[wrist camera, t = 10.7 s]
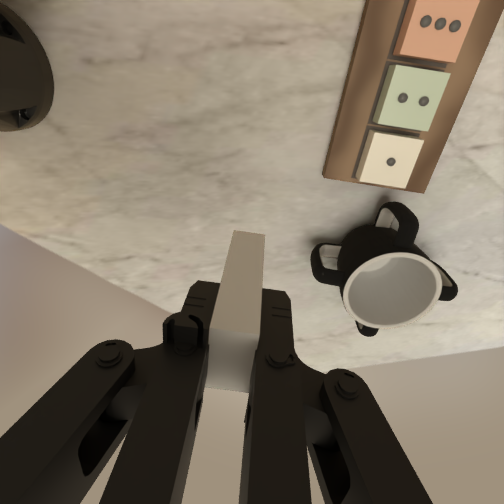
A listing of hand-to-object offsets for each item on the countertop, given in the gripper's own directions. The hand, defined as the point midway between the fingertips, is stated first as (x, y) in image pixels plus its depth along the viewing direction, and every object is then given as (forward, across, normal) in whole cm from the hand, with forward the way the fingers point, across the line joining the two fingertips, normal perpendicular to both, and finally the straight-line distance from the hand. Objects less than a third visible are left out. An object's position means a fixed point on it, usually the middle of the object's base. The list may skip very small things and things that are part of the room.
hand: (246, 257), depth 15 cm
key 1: (+29, +16, 0) cm, 33 cm away
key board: (+32, +16, +7) cm, 36 cm away
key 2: (+29, +16, +7) cm, 34 cm away
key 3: (+30, +16, +14) cm, 37 cm away
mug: (+32, +19, -14) cm, 40 cm away
